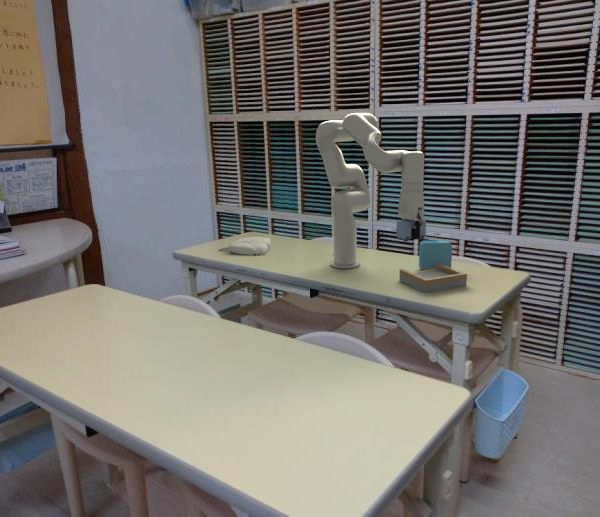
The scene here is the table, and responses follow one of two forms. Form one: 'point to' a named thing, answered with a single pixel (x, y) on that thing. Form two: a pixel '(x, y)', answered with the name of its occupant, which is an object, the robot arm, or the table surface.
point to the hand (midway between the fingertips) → (411, 237)
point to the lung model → (249, 246)
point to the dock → (434, 278)
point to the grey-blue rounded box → (408, 230)
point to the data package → (434, 254)
